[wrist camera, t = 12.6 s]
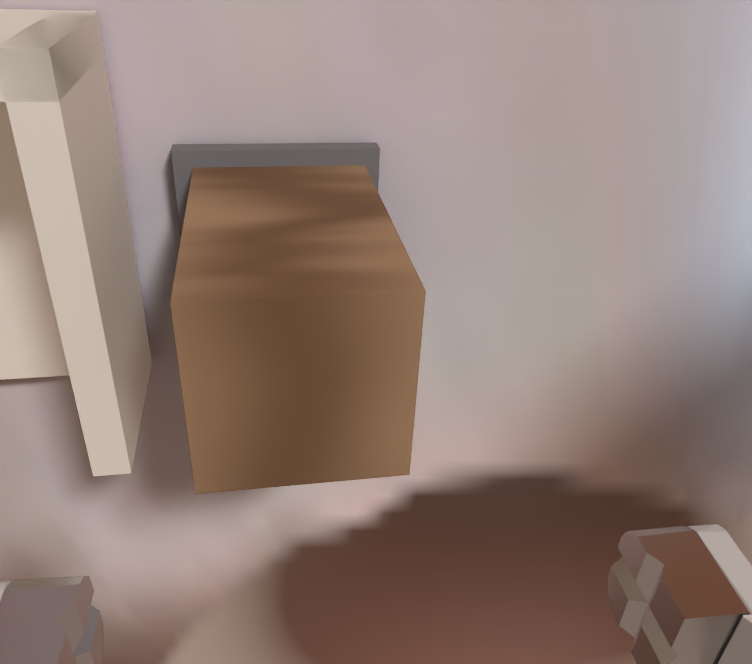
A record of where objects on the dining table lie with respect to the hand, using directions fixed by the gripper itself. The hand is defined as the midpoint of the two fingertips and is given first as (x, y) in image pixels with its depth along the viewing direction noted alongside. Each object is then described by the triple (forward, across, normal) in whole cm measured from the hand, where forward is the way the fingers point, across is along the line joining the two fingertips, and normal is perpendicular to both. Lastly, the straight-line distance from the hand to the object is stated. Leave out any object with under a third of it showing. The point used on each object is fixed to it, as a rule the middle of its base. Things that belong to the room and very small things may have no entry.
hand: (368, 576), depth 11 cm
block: (+13, +1, +1) cm, 13 cm away
